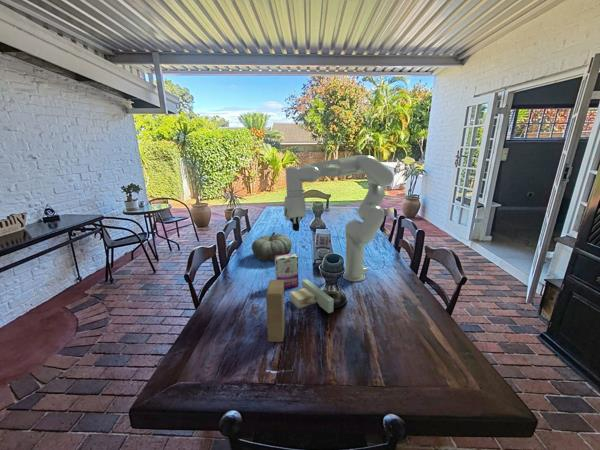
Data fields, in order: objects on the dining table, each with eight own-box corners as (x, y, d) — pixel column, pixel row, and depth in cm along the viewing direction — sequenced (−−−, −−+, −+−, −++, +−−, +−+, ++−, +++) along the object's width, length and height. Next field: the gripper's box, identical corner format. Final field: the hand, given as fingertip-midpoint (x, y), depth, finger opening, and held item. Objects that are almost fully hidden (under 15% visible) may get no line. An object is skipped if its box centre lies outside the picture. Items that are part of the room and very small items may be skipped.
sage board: (306, 289, 139) (306, 278, 138) (333, 311, 121) (333, 299, 119) (302, 291, 138) (302, 280, 136) (328, 313, 120) (329, 301, 118)
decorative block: (271, 323, 113) (269, 279, 108) (285, 324, 113) (284, 279, 107) (267, 342, 103) (265, 294, 97) (282, 342, 102) (281, 294, 97)
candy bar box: (296, 281, 147) (296, 252, 143) (298, 286, 143) (298, 256, 138) (275, 284, 145) (274, 255, 140) (277, 289, 140) (276, 259, 135)
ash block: (306, 295, 134) (306, 287, 133) (315, 303, 128) (315, 294, 126) (290, 300, 130) (290, 292, 129) (298, 309, 124) (298, 300, 122)
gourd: (299, 258, 171) (293, 231, 167) (260, 271, 163) (253, 243, 159) (286, 248, 194) (281, 224, 190) (252, 259, 186) (245, 235, 182)
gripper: (303, 190, 138) (304, 226, 143) (276, 194, 130) (278, 231, 136) (312, 192, 132) (312, 229, 137) (284, 196, 124) (286, 235, 130)
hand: (295, 230), depth 137 cm, fingers closed
